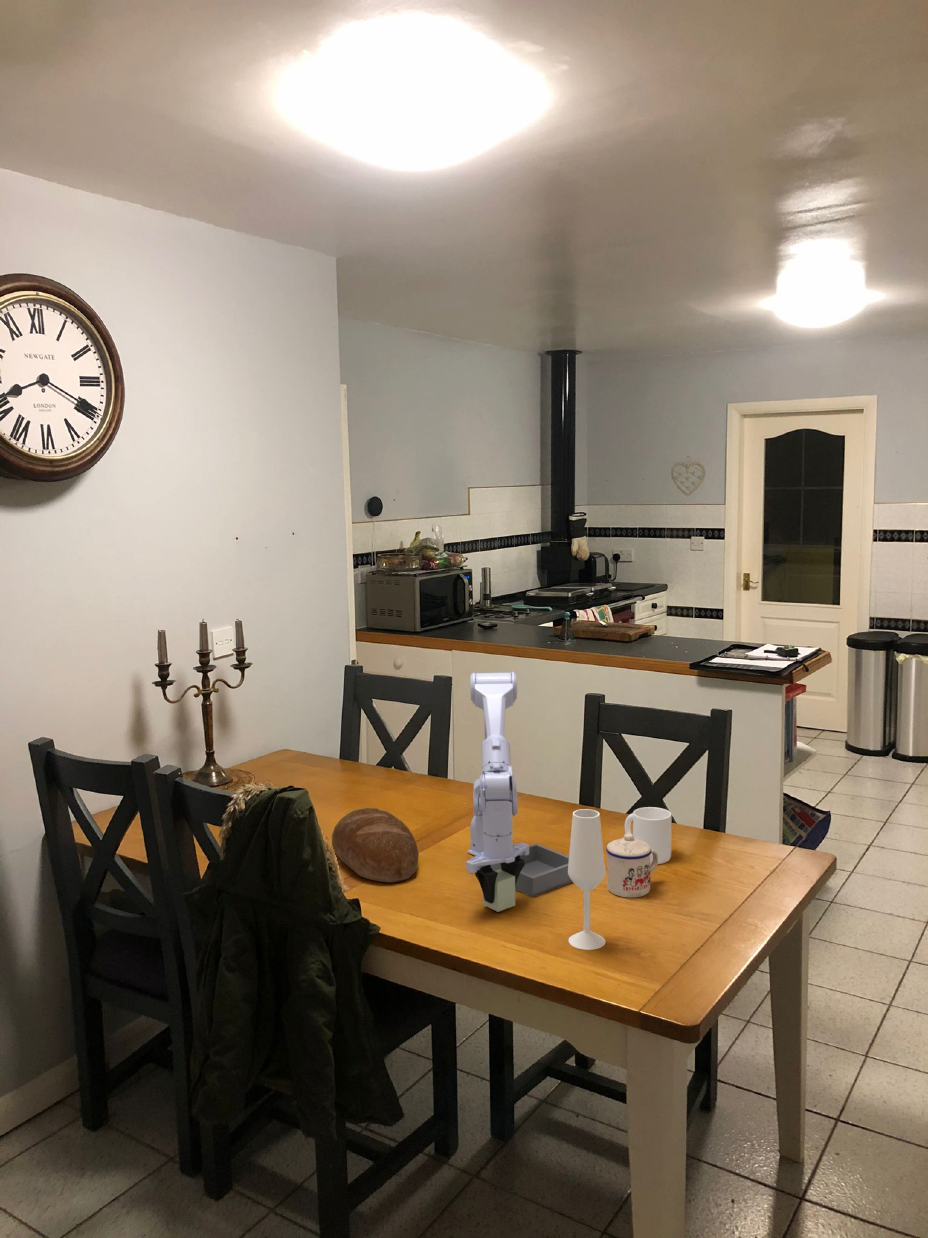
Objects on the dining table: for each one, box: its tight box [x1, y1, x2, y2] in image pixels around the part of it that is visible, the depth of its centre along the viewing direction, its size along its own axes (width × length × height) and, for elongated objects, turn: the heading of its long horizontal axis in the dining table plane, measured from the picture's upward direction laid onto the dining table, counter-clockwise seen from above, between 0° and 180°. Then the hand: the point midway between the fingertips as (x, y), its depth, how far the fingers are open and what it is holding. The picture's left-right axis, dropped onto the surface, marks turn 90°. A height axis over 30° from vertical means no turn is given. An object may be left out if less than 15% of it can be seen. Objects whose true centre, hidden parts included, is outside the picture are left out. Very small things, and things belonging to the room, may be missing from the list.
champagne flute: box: [568, 808, 606, 951], centre depth 171 cm, size 7×7×24 cm
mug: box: [624, 806, 672, 865], centre depth 211 cm, size 12×8×10 cm
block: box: [482, 870, 516, 913], centre depth 187 cm, size 4×4×6 cm
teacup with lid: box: [605, 833, 658, 899], centre depth 194 cm, size 12×9×12 cm
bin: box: [491, 842, 574, 898], centre depth 201 cm, size 14×14×4 cm
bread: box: [331, 807, 419, 884], centre depth 212 cm, size 16×29×11 cm, turn 28°
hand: (499, 898), depth 187 cm, fingers closed on block, 4 cm apart
